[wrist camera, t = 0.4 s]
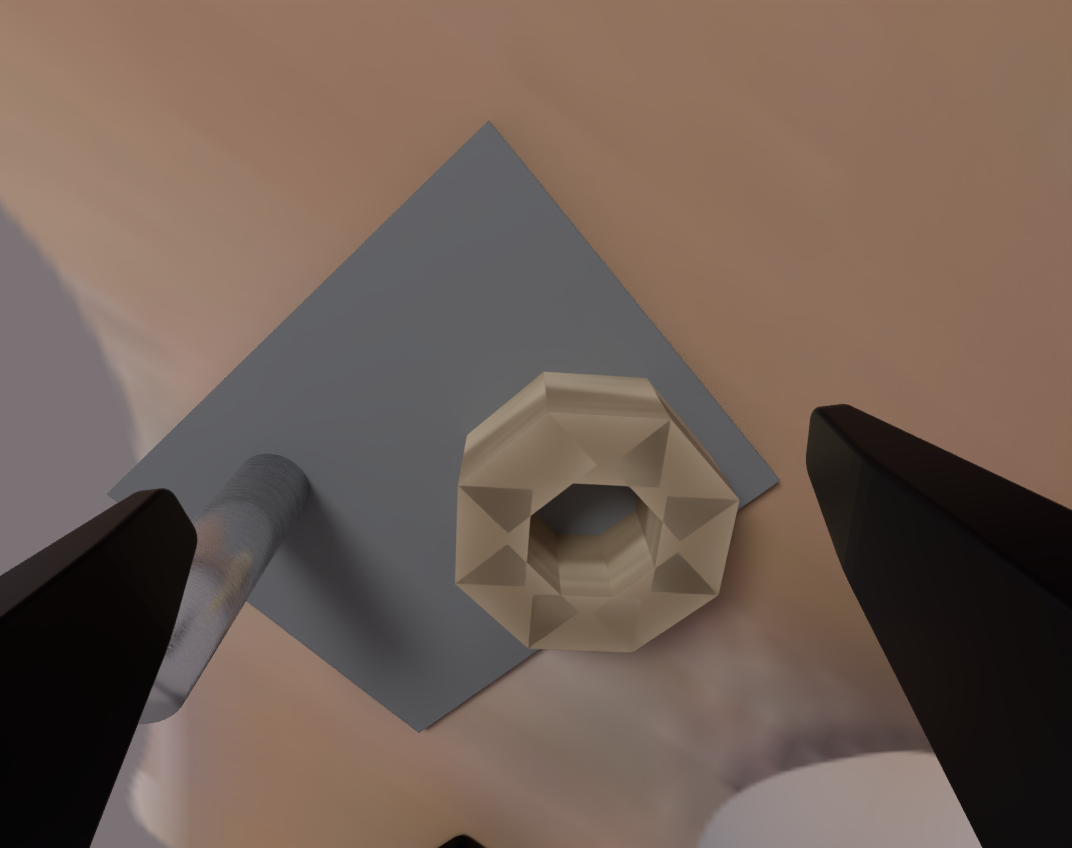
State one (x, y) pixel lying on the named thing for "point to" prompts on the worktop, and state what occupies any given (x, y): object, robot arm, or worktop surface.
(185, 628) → the peg
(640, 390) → the bead
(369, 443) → the mat
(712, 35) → the worktop surface
